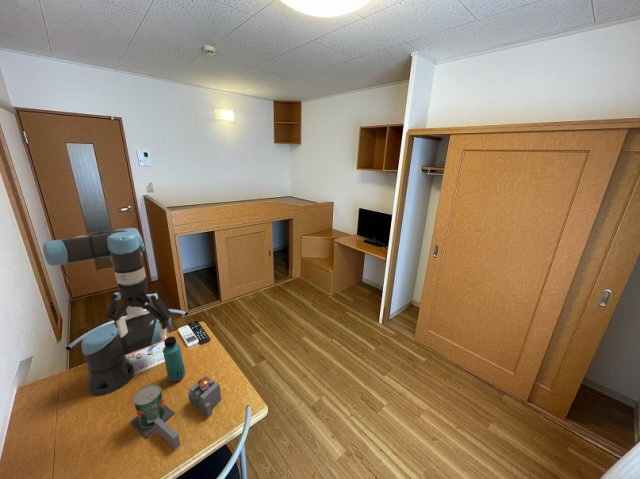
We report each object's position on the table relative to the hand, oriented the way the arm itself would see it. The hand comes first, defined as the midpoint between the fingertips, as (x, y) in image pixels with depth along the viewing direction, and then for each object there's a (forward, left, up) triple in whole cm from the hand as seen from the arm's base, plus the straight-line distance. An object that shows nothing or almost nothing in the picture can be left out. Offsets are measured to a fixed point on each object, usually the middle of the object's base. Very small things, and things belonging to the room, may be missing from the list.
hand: (144, 335), depth 89 cm
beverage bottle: (-4, +10, -31) cm, 33 cm away
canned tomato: (+5, -5, -30) cm, 31 cm away
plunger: (+16, +9, -27) cm, 33 cm away
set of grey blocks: (+16, +3, -31) cm, 35 cm away
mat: (+5, -5, -31) cm, 32 cm away
